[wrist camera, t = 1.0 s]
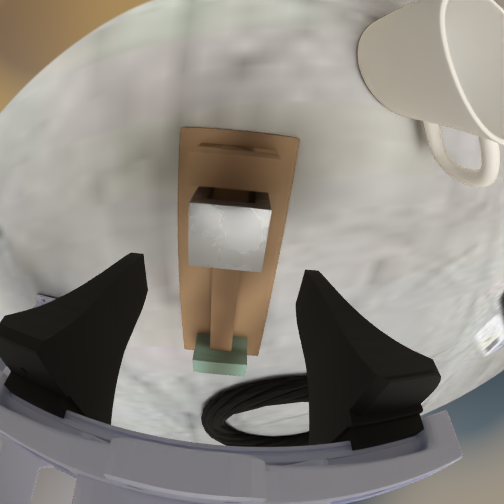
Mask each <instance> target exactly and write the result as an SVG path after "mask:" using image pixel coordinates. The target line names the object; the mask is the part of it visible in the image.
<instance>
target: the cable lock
mask: <svg viewBox="0 0 504 504" xmlns="http://www.w3.org/2000/svg"><path fill="white" fill-rule="evenodd" d="M296 402H309V392H308V379H307V376H301V377H293V378H277V379H272V380H268V381H263V382H259V383H254V384H249V385H244V386H241V387H238V388H235V389H232V390H229V391H227V392H225V393H223V394H221V395H220V396H218V397H217V398H215V399H213V400H212V401H210V403H209V404H208V405H207V406H206V407H205V408H204V411H203V414H202V416H201V420H202V425H203V427H204V429H205V431H206V432H207V433H208V434H209V436H210V437H211V438H213V439H215V440H217V441H218V442H220V443H222V444H224V445H226V446H239V447H293V446H309V432H308V433H304V434H300V435H296V436H284V437H275V438H273V437H262V436H251V435H247V434H244V433H241V432H237V431H234V430H232V429H231V428H230V427H228V426H227V425H226V424H225V423H224V422H225V420H227V419H228V418H229V417H230V416H232V415H233V414H237V413H241V412H245V411H249V410H253V409H256V408H260V407H264V406H270V405H279V404H287V403H296Z"/></svg>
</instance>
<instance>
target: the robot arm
mask: <svg viewBox="0 0 504 504" xmlns="http://www.w3.org/2000/svg"><path fill="white" fill-rule="evenodd" d="M147 292H148V287H147V280H146V272H145V264H144V255H143V254H139V253H130V254H128V255H127V256H125V257H123V258H122V259H121V260H119V261H118V262H116V263H115V264H113V265H112V266H111V267H109V268H108V269H106V270H105V271H103V272H102V273H101V274H99V275H97V276H96V277H94V278H93V279H91V280H90V281H88V282H87V283H85V284H84V285H82V286H80V287H79V288H77V289H75V290H73V291H71V292H70V293H68V294H66V295H64V296H62V297H59V298H57V299H55V298H51V297H47V296H43V295H39V294H37V296H36V300H37V304H36V305H35V306H34V308H32V309H29V310H26V311H22V312H18V313H14V314H10V315H6V316H4V318H3V319H2V321H1V322H0V357H1V359H2V360H3V361H4V363H5V364H6V367H5V369H4V371H3V372H2V371H1V370H0V442H1V444H0V504H30V503H31V500H32V495H33V492H34V488H35V485H36V481H37V478H38V474H39V471H40V469H42V468H48V467H55V468H57V469H58V470H61V471H62V472H65V473H67V474H69V475H71V476H73V477H75V478H77V481H76V485H75V490H74V496H73V500H72V504H346V503H350V502H354V501H359V500H362V499H366V498H370V497H373V496H376V495H380V494H383V493H386V492H389V491H392V490H395V489H398V488H400V487H403V486H406V485H408V484H411V483H413V482H416V481H418V480H421V479H423V478H425V477H428V476H430V475H431V474H434V473H436V472H438V471H440V470H441V469H443V468H445V467H447V466H449V465H450V464H452V463H454V462H456V461H457V460H459V459H461V458H462V456H463V455H462V452H461V449H460V446H459V443H458V440H457V437H456V434H455V431H454V428H453V426H452V423H451V420H450V417H449V415H448V413H447V411H442V412H439V413H436V414H433V415H430V416H427V417H425V418H423V419H422V420H421V417H420V413H422V412H423V408H422V406H421V403H422V402H423V401H424V400H425V399H426V398H427V397H428V396H429V395H430V394H431V393H432V392H433V391H434V390H435V389H436V388H437V386H438V384H439V383H440V380H441V376H440V374H439V372H438V369H437V367H436V365H435V363H434V361H433V359H431V358H428V357H426V356H424V355H422V354H419V353H417V352H415V351H413V350H411V349H409V348H407V347H406V346H404V345H402V344H400V343H399V342H397V341H395V340H394V339H392V338H391V337H389V336H388V335H386V334H385V333H383V332H382V331H380V330H379V329H378V328H376V327H375V326H374V325H372V324H371V323H370V322H369V321H368V320H366V319H365V318H364V317H363V316H362V315H360V314H359V313H358V312H357V311H356V310H355V309H354V308H353V307H352V306H351V305H350V304H349V303H348V302H347V301H346V300H345V299H344V298H343V297H342V296H341V295H340V294H339V293H338V292H337V290H336V289H335V288H334V287H333V286H332V285H331V284H330V283H329V282H328V281H327V279H326V278H325V277H324V276H323V275H322V274H321V273H320V272H319V271H315V270H305V272H304V276H303V280H302V284H301V287H300V291H299V294H298V298H297V301H296V317H297V325H298V330H299V335H300V340H301V344H302V349H303V354H304V358H305V363H306V369H307V379H308V392H309V446H293V447H239V446H223V445H211V444H202V443H194V442H187V441H180V440H174V439H168V438H163V437H157V436H153V435H148V434H143V433H139V432H135V431H131V430H127V429H123V428H120V427H116V426H113V425H111V417H112V408H113V401H114V394H115V388H116V383H117V379H118V374H119V370H120V366H121V362H122V358H123V354H124V351H125V349H126V346H127V343H128V341H129V339H130V336H131V334H132V332H133V329H134V327H135V325H136V322H137V320H138V318H139V315H140V313H141V311H142V308H143V305H144V302H145V299H146V295H147Z"/></svg>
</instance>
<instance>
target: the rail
mask: <svg viewBox="0 0 504 504" xmlns="http://www.w3.org/2000/svg"><path fill="white" fill-rule="evenodd" d="M299 141H300V139H299V138H294V137H288V136H281V135H274V134H266V133H258V132H249V131H239V130H227V129H214V128H195V127H182V128H181V130H180V148H179V172H178V256H179V281H180V298H181V313H182V326H183V337H184V348H185V349H189V350H194V355H193V371H194V372H202V373H211V374H221V375H233V376H245V373H246V367H247V355H253V356H258V353H259V349H260V345H261V340H262V335H263V331H264V326H265V322H266V317H267V312H268V308H269V303H270V298H271V293H272V288H273V283H274V279H275V274H276V269H277V264H278V258H279V253H280V248H281V243H282V238H283V232H284V227H285V222H286V216H287V211H288V205H289V200H290V194H291V189H292V183H293V177H294V171H295V165H296V159H297V153H298V147H299ZM198 186H202V187H214V189H213V199H216V200H227V201H237V202H247V203H253V196H254V191H256V192H265V193H268V195H269V199H270V204H271V210H272V212H271V218H270V224H269V230H268V237H267V243H266V249H265V255H264V261H263V267H262V272H252V271H241V270H230V269H220V268H209V267H199V266H189V254H188V231H189V202H190V200H191V198H192V196H193V195H194V193H195V191H196V190H197V188H198Z"/></svg>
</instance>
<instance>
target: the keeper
mask: <svg viewBox="0 0 504 504" xmlns="http://www.w3.org/2000/svg"><path fill="white" fill-rule="evenodd" d="M213 189H214V187H202V186H198V188H197V190H196V191H195V193H194V195H193V196H192V198H191V200H190V202H189V231H188V254H189V266H199V267H209V268H220V269H230V270H241V271H252V272H262V267H263V261H264V255H265V249H266V243H267V237H268V230H269V224H270V218H271V212H272V210H271V204H270V199H269V195H268V193H265V192H256V191H254V196H253V203H247V202H237V201H227V200H216V199H213Z"/></svg>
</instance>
